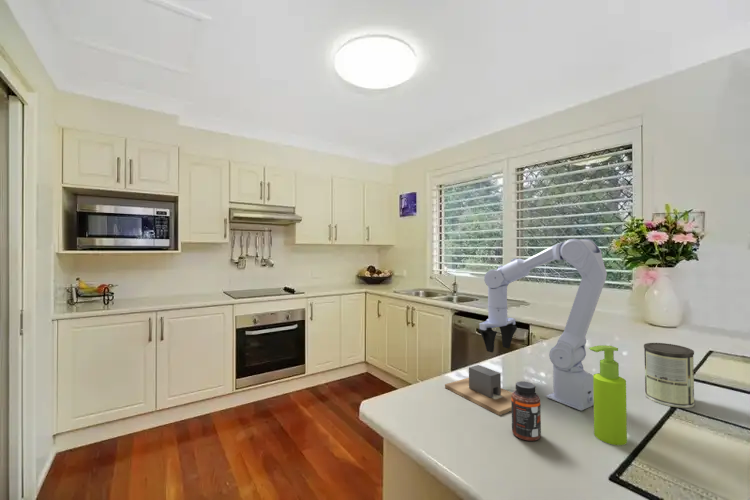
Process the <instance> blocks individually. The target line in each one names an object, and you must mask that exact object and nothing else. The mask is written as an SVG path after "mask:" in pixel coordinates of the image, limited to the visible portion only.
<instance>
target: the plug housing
mask: <svg viewBox="0 0 750 500" xmlns="http://www.w3.org/2000/svg"><path fill="white" fill-rule="evenodd" d="M501 374H502V373H501V372H498V371H495V370H493V369H490V368H488V367H485V366H482V365H481V364H477V365H476V364H475V365H473V366H469V367H468V378H469V388H470V389H472V390H475V391H477V392H479V393H481V394H483V395H485V396H487V397H489V398H493V393H494V394H496V395H498V396H499V395H501V388H502V386H501V385H502V384H501V382H502V381H501V377H502V375H501Z"/></svg>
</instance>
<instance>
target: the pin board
mask: <svg viewBox="0 0 750 500" xmlns="http://www.w3.org/2000/svg"><path fill="white" fill-rule="evenodd" d="M444 388H445V389H447V390H449V391H451V392H452V393H455V394H457V395H459V396H460V397H462V398H464V399H466V400H468V401H470V402H472V403H473V404H475V405H478V406H480V407H482V408H483V409H486V410H487V411H490V412H492V413H493V414H496V415H497V416H502V415H504V414H508V413H510V412H512V405H511V400H512V399H511V396H512V393H513V391H509V390H507V389H504V388H503V387H501V395H499V396H498V395H496V394H494V393H493V398H489V397H487V396H485V395H483V394H481V393H479V392H477V391H475V390H472V389H470V388H469V377H467V378H463V379H458V380H456V381H451V382H449V383H445V384H444ZM509 411H510V412H509Z"/></svg>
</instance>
